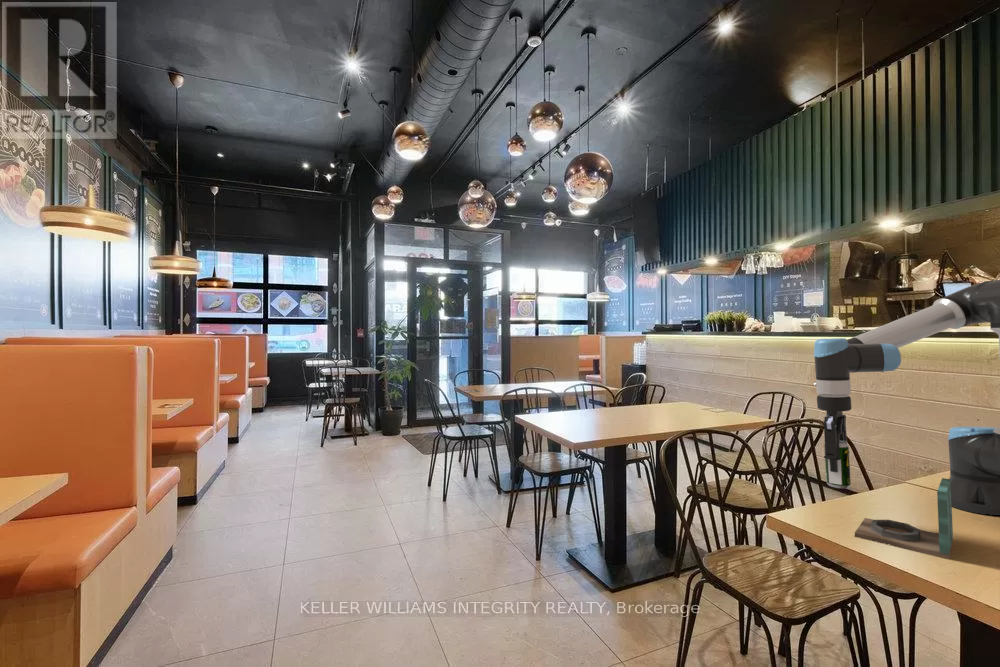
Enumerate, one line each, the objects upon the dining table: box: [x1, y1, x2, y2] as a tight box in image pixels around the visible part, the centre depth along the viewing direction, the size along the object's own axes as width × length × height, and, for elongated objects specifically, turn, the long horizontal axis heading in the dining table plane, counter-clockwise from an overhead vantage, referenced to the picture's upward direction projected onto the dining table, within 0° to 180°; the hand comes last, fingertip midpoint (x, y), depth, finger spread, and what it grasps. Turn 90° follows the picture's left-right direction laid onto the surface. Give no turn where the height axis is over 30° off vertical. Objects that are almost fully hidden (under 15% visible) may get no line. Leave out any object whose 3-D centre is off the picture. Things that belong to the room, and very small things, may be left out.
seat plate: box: [854, 477, 954, 560], centre depth 113 cm, size 13×17×15 cm
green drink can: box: [823, 440, 852, 489], centre depth 124 cm, size 5×5×12 cm
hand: (838, 480), depth 123 cm, fingers closed on green drink can, 5 cm apart
